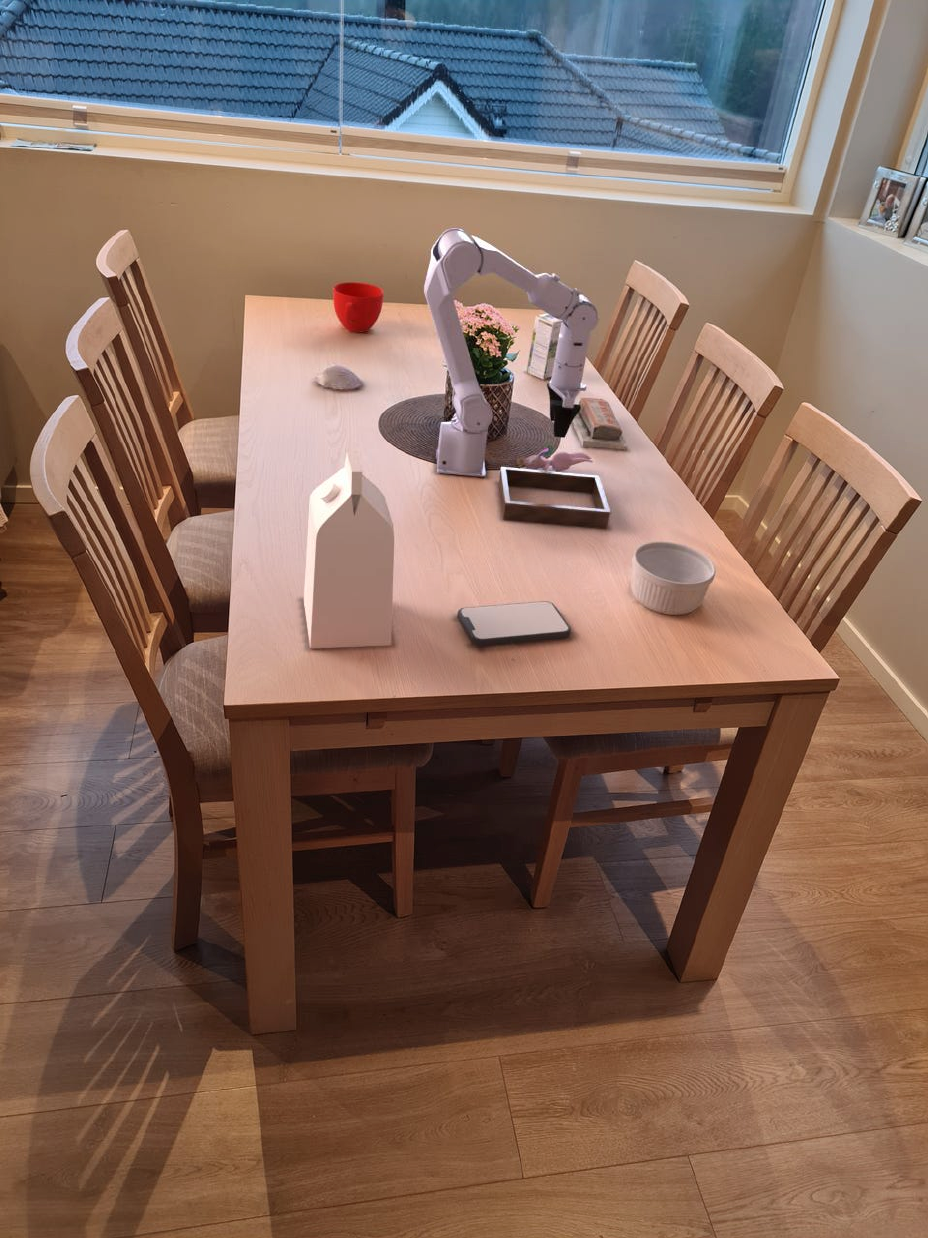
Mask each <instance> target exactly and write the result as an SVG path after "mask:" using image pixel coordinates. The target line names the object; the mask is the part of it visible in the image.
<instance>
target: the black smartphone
mask: <svg viewBox="0 0 928 1238" xmlns="http://www.w3.org/2000/svg"><path fill="white" fill-rule="evenodd" d="M456 618H457V621H458V623H459V624H460V626H461V627H462V630H463V631H464V633H465V635H466V637H467V639H468V641H469V642H470V643H471V645H472V646H473V647H477V648H485V647H487V648H488V647H496V646H507V645H517V644H526V643H537V642H546V641H547V642H548V641H555V640H556V641H558V640H566V639H569V637H570V636H571V632H572V628H571V626H570V625H569V624H568V622H567V621H566V619H565V618H564V616H563V615H562V613H561V612H560V611H559V610H558V608H557V606H556V605H555V604H554V602H551V601H548V600H540V601H529V602H520V603H519V602H515V603H505V604H503V603H502V604H493V605H491V604H490V605H482V606H468V607H467V606H466V607H461V608H459V609H458V611H457V615H456Z"/></svg>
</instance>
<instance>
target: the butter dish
mask: <svg viewBox="0 0 928 1238" xmlns="http://www.w3.org/2000/svg"><path fill="white" fill-rule="evenodd" d="M578 402H579V403H578V405H580V406H581V410H580V412H579V413H578V414H577V415H576V416H575V418H574V419H573V421H572V424H573V425H572V426H573V427H574V431H575V433H576V435H577V438H578V439H579V442H580V444H581V446H582V447H589V448H590V447H591V448H608V449H609V448H610V449H621V450H625V451H626V450H627V448H628V443H627V441H626V440H625V438H624V437H623V430H622V427H621V426H620V424H619V422H618V420H617V418H616V416H615V414H614V412H613V410H612V407H611V406H610V403H609V402H608V401H607V400H605V399H603V398H593V397H581V398H580V400H579V401H578Z"/></svg>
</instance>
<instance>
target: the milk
mask: <svg viewBox="0 0 928 1238" xmlns="http://www.w3.org/2000/svg"><path fill="white" fill-rule="evenodd" d="M345 454H346V456H345V460H344V467H342V468H340V469H339V470H338V471H337V472H335V473H334V474H333V475H332V476H330V477H329V478H327V479H326V480H324V481H323V482H322V483H321V484H319V485H318V486H317V487H316V488H314V490H313V491H312V493H311V494H310V497H309V504H308V505H309V506H308V521H307V522H308V523H307V539H306V556H305V557H306V558H305V573H304V589H303V605H304V611H305V613H304V614H305V619H306V626H307V627H306V628H307V634H308V642H309V649H311V650H312V649H332V648H333V649H334V648H357V647H358V648H359V647H360V648H361V647H363V648H364V647H385V646H392V629H393V627H392V626H393V598H394V595H393V594H394V566H395V565H394V564H395V563H394V562H395V532H394V531H395V529H394V522H393V519H392V516H391V513H390V509H389V506H388V503H387V499H386V497H385V495H384V494H383V492H382V491H381V490H380V488H379V487H378V486H377V485H376V484H375V483H374V482H372V481H371V480H370V479H369V478H367V476H366V475H364V474H363V470H362V466H361V462H360V459H359V456H358V452H357V451H346V453H345Z"/></svg>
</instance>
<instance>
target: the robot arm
mask: <svg viewBox="0 0 928 1238" xmlns="http://www.w3.org/2000/svg"><path fill="white" fill-rule="evenodd" d="M471 238H472V239H471ZM475 274H478V275H479V277H483V276H487V275H490V274H494V275H497V276H498V277H500V278H502V279H504V280H505V281H507V282H509V283H510V284H512V285H514V286H516V287H518V288H519V289H521V290H523V291H524V292H526V293H527V298H528V302H529V303H530V304H532V305H534V306H535V307H537V308H538V309H540V310H541V311H543V312H545V314H550V315H551V316H553V317H555V318H556V319H559V320H562V323H561V329H560V334H559V339H558V344H557V350H556V356H555V361H554V367H553V372H552V377H551V379H550V380H549V382H547V383H546V388H547V391H548V397H549V420H550V422H553V436H554V437H555V438H561V439H563V438H566V437H567V434H568V432H569V429H570V427H571V425H572V424H573V419H574V418H575V416H576V415H577V414H578V413H579V412H580V410H581V406H580V405H578V404H579V403H578V404H577V403H575V402H576V399H577V397H578V395H579V394H580V392H581V391H582V392H586V391H587V385H586V384H585V383H582V380H583V376H584V375H583V374H584V370H585V365H586V361H587V356H588V355H587V354H588V349H589V345H590V337H591V333H592V332H593V330H595V328H596V327H597V326H598V323H599V320H600V319H599V318H598V309H597V307H596V305H594V304H593V302H592V301H590V300H589V298H588V297H587V296H586V295H584V294H583V292H581V291H580V290H579V289H577V288H573V289H572V288H571V287H569V286H567V285H566V284H565V283H563V282H561V281H560V280H561V277H559V276H558V275H557V274H556V273H551V275H550V274H549V273H547V272H544V273H540V274H534V273H533V272H531V271H530V270H529V269H527V268H526V267H524V266H523V265H522V264H520V263H519V262H517V261H515V260H514V259H513V258H511V257H509V256H508V255H507V254H505V253H504V252H502V251H501V250H500V249H498V248H496V247H495V246H493V245H492V244H490V243H489V242H486V241H484V239H483V240H482V239H481V238H479V237H477V236H474V235H472V234H471V237H470V236H469V234H468V233H467V232H466V231H464V230H463V229H461V228H458V227H457V228H449V229H446V230H445V231H443V232H442V233H441V235H440V236H439V237H438V238H437V240H436V241H435V243H433V246H432V247H431V252H430V261H429V265H428V269H427V273H426V276H425V281H424V285H423V293H424V296H425V299H426V303H427V307H428V310H429V312H430V316H431V319H432V322H433V325H434V329H435V333H436V335H437V338H438V341H439V345H440V348H441V351H442V355H443V359H444V361H445V365H446V367H447V368H446V369H447V371H448V374H449V378H450V383H451V387H452V397H451V403H452V406H453V408H454V410H455V413H454V415H453V416H452V418H451V420H450V421H441V422H440V424H439V425H440V427H439V435H438V444H437V449H436V451H435V459H436V472H437V473H438V474H446V475H447V474H448V475H456V476H457V475H458V476H468V477H479V478H480V477H481V478H485V477H486V475H487V474H486V463H485V455H486V447H487V441H488V432H489V427H490V425H491V423H492V422H493V418H494V413H493V410H492V407H491V406H490V405H489V403H488V402H487V399H486V397H485V395H484V392H483V389H481V387H480V385H479V382H478V379H477V376H476V372H475V368H474V366H473V361H472V358H471V355H470V352H469V348H468V344H467V341H466V338H465V334H464V331H463V327H462V324H461V321H460V318H459V314H458V310H457V306H456V304H455V300H454V298H455V296H456V294H457V292H459V289H460V288H461V287H462V286H463V285H464V284H465V283H466V282H468V281H469V280H470V279H471V278H473V277H474V276H475ZM564 321H565V322H566V323H565V322H564Z"/></svg>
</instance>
